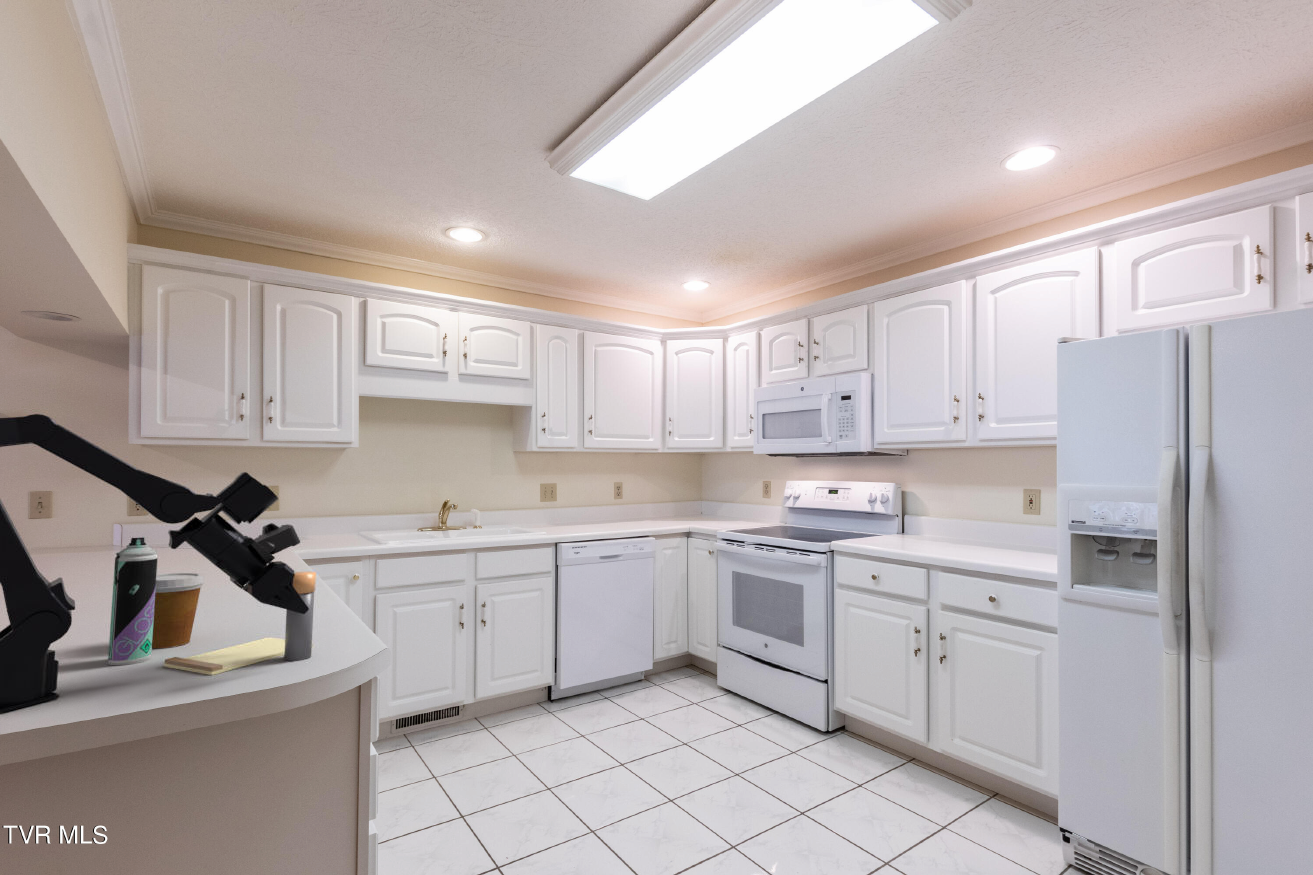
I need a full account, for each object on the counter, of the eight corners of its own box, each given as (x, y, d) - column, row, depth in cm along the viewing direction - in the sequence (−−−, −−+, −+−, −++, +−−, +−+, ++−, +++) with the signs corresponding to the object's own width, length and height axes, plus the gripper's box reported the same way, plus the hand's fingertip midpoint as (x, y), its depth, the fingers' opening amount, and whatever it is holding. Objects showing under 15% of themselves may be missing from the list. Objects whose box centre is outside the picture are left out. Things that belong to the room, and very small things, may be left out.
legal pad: (212, 675, 97) (212, 667, 97) (164, 666, 101) (164, 659, 101) (312, 646, 114) (313, 640, 114) (268, 639, 118) (268, 633, 118)
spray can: (126, 666, 101) (134, 539, 102) (98, 663, 102) (107, 538, 103) (159, 656, 106) (167, 536, 107) (133, 654, 107) (140, 535, 108)
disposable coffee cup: (184, 649, 111) (189, 580, 111) (121, 652, 109) (126, 581, 109) (210, 636, 120) (214, 572, 121) (152, 638, 118) (156, 572, 119)
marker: (296, 662, 104) (300, 576, 105) (277, 659, 106) (281, 574, 107) (317, 655, 108) (321, 572, 109) (299, 652, 110) (303, 571, 111)
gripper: (281, 511, 98) (354, 576, 105) (255, 506, 112) (321, 564, 119) (217, 567, 92) (298, 632, 99) (198, 554, 106) (270, 612, 113)
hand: (299, 607), depth 108 cm, fingers open, 9 cm apart
